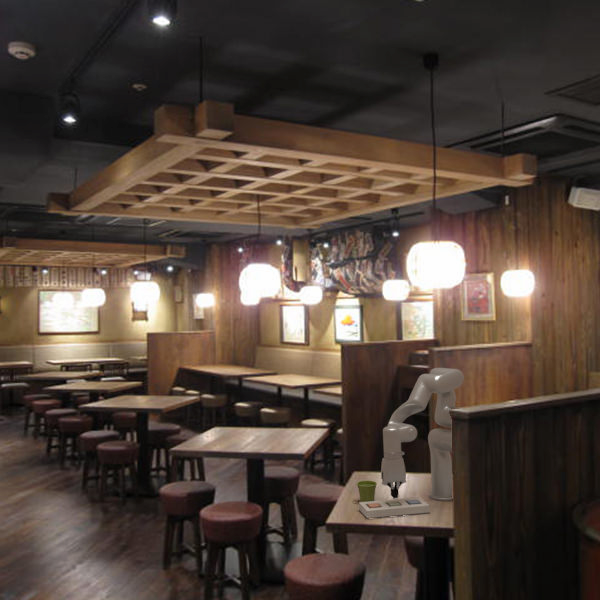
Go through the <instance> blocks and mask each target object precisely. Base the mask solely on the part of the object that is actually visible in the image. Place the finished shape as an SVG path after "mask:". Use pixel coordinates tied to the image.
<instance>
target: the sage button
mask: <svg viewBox="0 0 600 600" xmlns="http://www.w3.org/2000/svg"><path fill="white" fill-rule="evenodd" d="M387 505H388V506H389V507H390V506H400V504H399V503H398V502H397V501H394V502H387Z"/></svg>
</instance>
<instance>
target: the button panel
mask: <svg viewBox="0 0 600 600" xmlns="http://www.w3.org/2000/svg"><path fill="white" fill-rule="evenodd" d="M407 500H417V501H418V502H420V504H412V505H409V504H408V503H407ZM394 501H397V502H398V503H399V504H400V506H390V507H389V506H388V505H387V502H394ZM371 503H378V504H379V505H380V507H379V508H369V507H368V505H367V504H371ZM430 507H431V506H430V504H428V503H427V502H426V501H425V500H423V499H422V498H421V497H419V496H418V497H417V496H416V497H406V498H405V497H404V498H395V499H394V498H393V499H384V500H383V499H382V500H374V501H369V502H361V501H358V511H359V512H360V513H361V514H362V515H363V517H365V519H366V518H367V519H366V520H370V519H369V518H377V519H383V518H382V517H387V518H391V517H390V516H398V517H404V516H403V515H409V516H419V515H429V514H430V512H431V511H430V510H431V509H430Z"/></svg>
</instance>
